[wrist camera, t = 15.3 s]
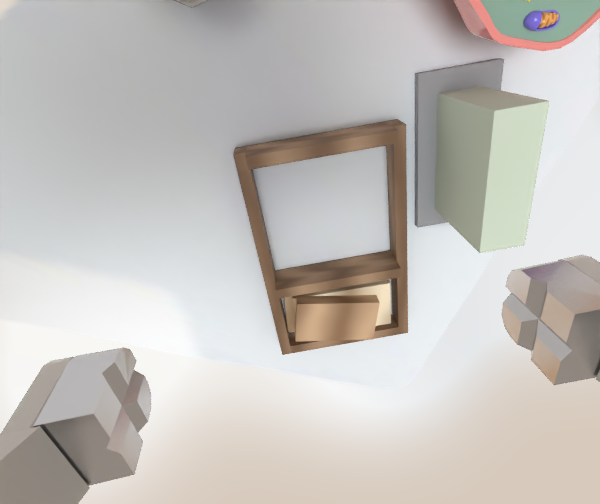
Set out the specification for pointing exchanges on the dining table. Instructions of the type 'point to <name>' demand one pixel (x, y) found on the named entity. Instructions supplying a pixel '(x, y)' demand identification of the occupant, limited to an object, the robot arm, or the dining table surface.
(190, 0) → the coffee box
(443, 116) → the pale green cuboid
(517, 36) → the cell model
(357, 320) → the offcut stack
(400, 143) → the frame
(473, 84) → the slate pad
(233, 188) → the dining table surface
